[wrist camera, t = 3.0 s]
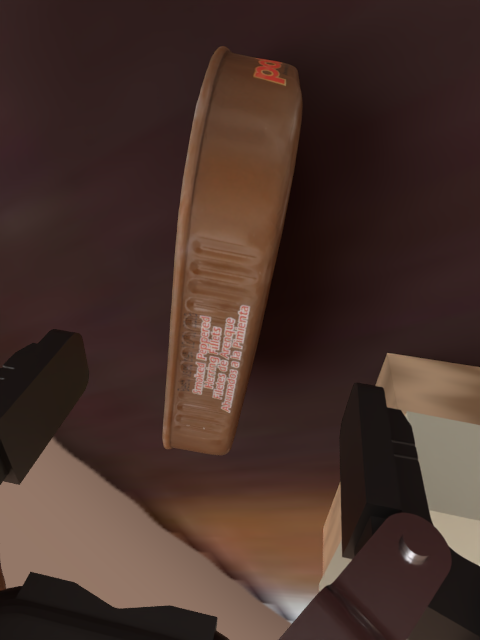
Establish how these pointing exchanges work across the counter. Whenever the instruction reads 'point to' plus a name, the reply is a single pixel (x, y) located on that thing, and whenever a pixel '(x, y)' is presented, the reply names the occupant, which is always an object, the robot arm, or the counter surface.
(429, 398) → the tower bottom
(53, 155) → the counter surface
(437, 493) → the tower top
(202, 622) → the robot arm
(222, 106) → the tin
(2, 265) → the counter surface
